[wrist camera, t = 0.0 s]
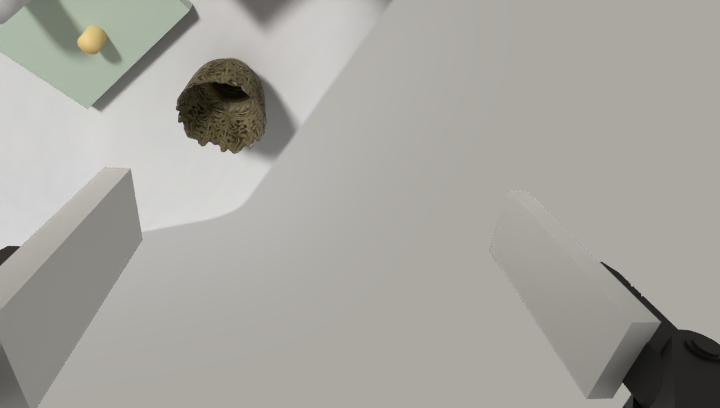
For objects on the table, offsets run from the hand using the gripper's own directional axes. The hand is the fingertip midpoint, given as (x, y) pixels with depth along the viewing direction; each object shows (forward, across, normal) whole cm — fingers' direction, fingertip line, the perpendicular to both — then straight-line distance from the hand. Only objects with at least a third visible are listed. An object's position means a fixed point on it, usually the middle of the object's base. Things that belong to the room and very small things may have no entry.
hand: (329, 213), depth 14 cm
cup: (+30, -8, -2) cm, 31 cm away
